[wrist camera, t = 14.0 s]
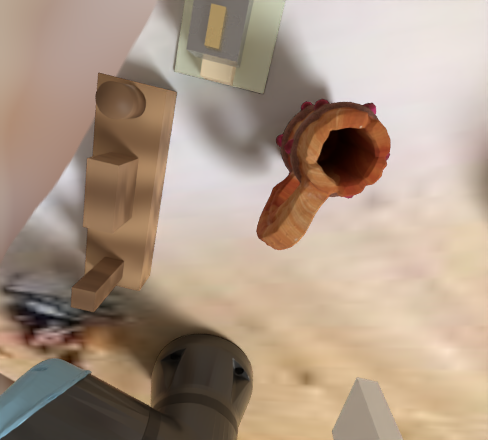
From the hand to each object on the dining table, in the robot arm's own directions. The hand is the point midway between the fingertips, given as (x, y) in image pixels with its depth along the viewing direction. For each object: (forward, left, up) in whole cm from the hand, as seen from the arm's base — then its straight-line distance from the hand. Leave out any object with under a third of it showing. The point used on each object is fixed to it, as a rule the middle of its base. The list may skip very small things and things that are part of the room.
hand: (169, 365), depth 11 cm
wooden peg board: (-3, +12, -29) cm, 31 cm away
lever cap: (+16, +4, -25) cm, 30 cm away
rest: (+16, +4, -29) cm, 33 cm away
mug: (+5, -7, -29) cm, 30 cm away
